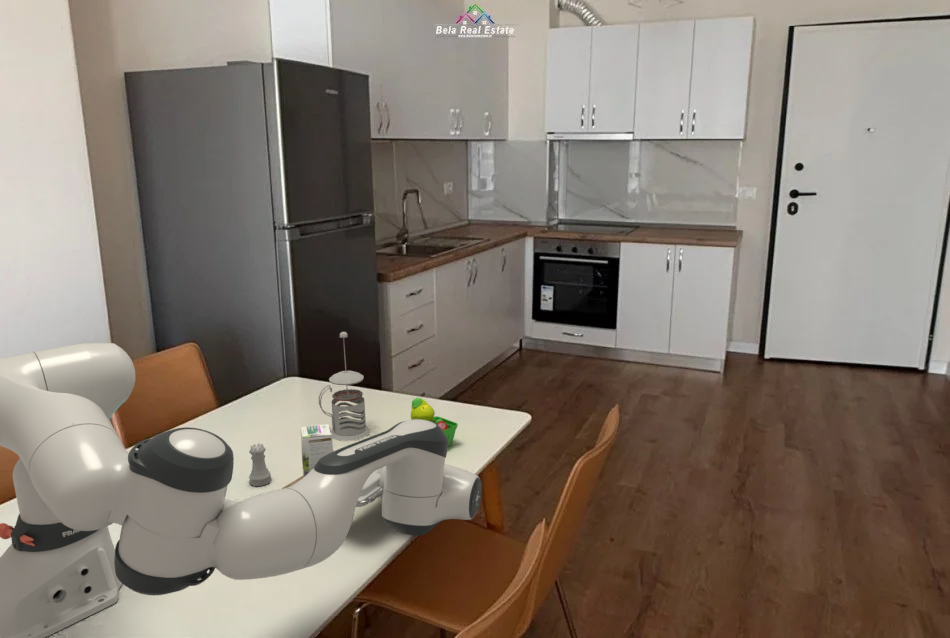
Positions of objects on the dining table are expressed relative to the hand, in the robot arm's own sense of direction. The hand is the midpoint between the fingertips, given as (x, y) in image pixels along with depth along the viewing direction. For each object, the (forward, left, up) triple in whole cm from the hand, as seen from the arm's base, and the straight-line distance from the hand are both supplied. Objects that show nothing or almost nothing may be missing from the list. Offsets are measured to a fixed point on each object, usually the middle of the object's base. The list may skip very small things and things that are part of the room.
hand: (339, 465), depth 137 cm
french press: (+28, +21, -8) cm, 36 cm away
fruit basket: (+30, -1, -8) cm, 31 cm away
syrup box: (0, +5, -8) cm, 10 cm away
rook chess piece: (0, +21, -8) cm, 23 cm away
